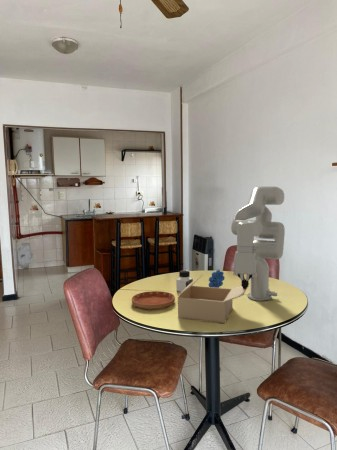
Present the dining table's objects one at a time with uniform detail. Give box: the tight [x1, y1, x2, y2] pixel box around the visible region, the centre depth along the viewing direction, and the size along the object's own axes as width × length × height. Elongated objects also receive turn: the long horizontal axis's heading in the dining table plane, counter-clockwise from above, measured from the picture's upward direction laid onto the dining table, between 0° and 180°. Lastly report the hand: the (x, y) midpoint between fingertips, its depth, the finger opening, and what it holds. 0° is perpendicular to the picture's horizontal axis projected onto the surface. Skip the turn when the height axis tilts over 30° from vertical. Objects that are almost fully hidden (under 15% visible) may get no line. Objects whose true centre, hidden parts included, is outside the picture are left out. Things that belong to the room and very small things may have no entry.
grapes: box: [208, 269, 225, 288], centre depth 205 cm, size 12×7×12 cm, turn 122°
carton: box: [177, 285, 233, 324], centre depth 168 cm, size 22×20×10 cm
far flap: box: [177, 274, 203, 297], centre depth 170 cm, size 9×19×1 cm
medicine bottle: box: [175, 269, 194, 293], centre depth 204 cm, size 7×7×12 cm
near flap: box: [225, 284, 247, 302], centre depth 162 cm, size 9×19×1 cm, turn 159°
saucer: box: [131, 290, 176, 310], centre depth 184 cm, size 23×23×4 cm
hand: (244, 288), depth 160 cm, fingers closed
